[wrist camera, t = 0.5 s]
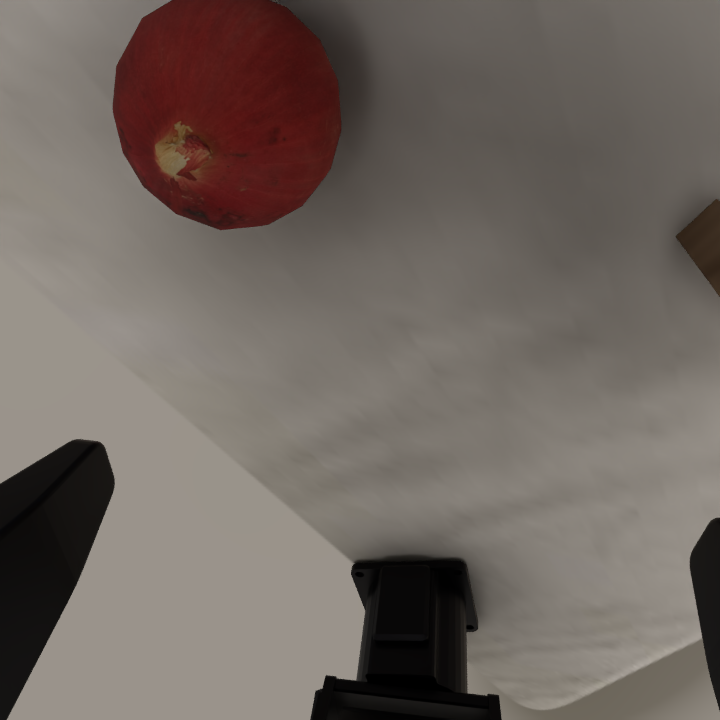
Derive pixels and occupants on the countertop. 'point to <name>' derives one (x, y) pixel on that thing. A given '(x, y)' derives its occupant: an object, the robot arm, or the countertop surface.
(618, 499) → the countertop surface
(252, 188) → the onion
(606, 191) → the countertop surface
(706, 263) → the tile
